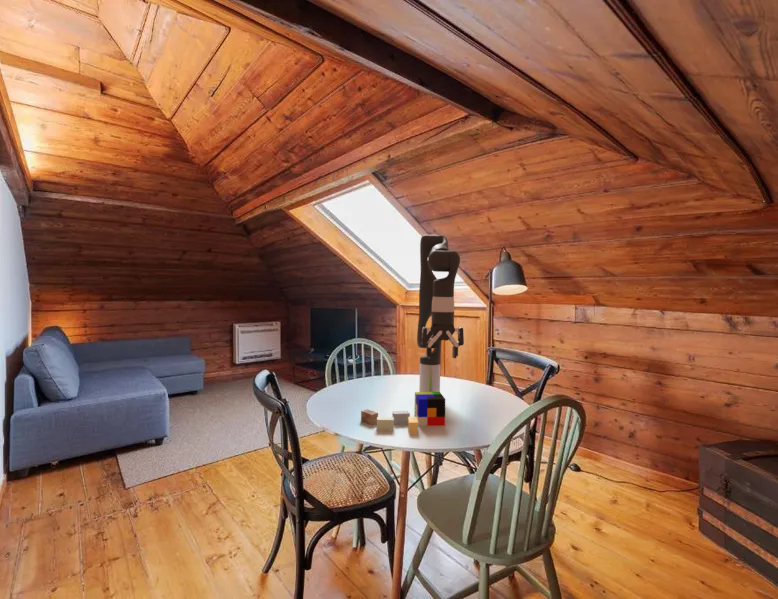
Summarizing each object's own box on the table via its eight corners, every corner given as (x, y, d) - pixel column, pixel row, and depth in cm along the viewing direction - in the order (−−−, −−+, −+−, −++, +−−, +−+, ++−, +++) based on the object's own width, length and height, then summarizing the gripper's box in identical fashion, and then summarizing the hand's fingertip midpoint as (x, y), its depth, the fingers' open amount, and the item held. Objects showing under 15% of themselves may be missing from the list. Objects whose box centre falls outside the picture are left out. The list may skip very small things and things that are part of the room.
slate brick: (394, 424, 148) (394, 414, 148) (392, 421, 151) (392, 411, 151) (409, 423, 149) (409, 413, 149) (407, 420, 152) (407, 410, 152)
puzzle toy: (418, 425, 147) (418, 399, 146) (414, 416, 157) (414, 392, 156) (444, 425, 148) (445, 399, 147) (439, 416, 157) (439, 391, 157)
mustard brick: (407, 427, 145) (408, 416, 145) (416, 427, 145) (416, 416, 145) (408, 433, 139) (409, 422, 139) (417, 433, 139) (418, 422, 139)
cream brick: (376, 430, 141) (376, 419, 141) (377, 427, 145) (377, 416, 144) (393, 431, 141) (393, 420, 141) (393, 427, 145) (393, 417, 144)
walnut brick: (361, 421, 151) (361, 411, 151) (367, 419, 153) (367, 409, 153) (371, 425, 147) (371, 414, 146) (377, 423, 149) (378, 412, 149)
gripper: (459, 309, 137) (458, 355, 138) (419, 309, 135) (418, 356, 136) (467, 311, 130) (465, 360, 130) (424, 311, 128) (423, 360, 128)
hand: (442, 358), depth 133 cm, fingers open, 8 cm apart
